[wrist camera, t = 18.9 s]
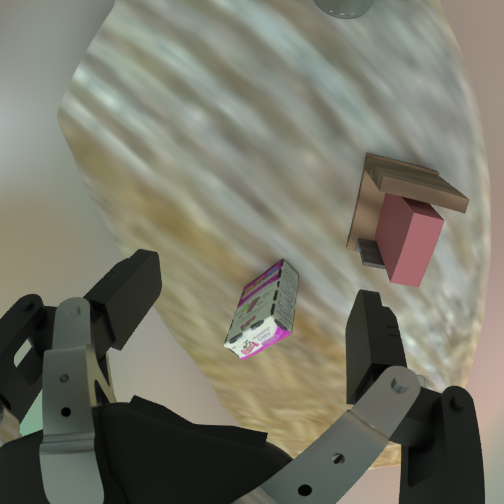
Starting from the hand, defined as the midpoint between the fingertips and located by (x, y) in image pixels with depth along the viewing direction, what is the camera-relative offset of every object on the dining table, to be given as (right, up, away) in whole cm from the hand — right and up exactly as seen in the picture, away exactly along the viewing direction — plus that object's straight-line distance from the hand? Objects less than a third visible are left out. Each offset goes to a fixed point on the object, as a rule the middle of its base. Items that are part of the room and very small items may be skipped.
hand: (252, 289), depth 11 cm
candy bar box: (+4, -4, +47) cm, 47 cm away
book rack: (+24, +9, +34) cm, 42 cm away
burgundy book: (+24, +8, +33) cm, 41 cm away
